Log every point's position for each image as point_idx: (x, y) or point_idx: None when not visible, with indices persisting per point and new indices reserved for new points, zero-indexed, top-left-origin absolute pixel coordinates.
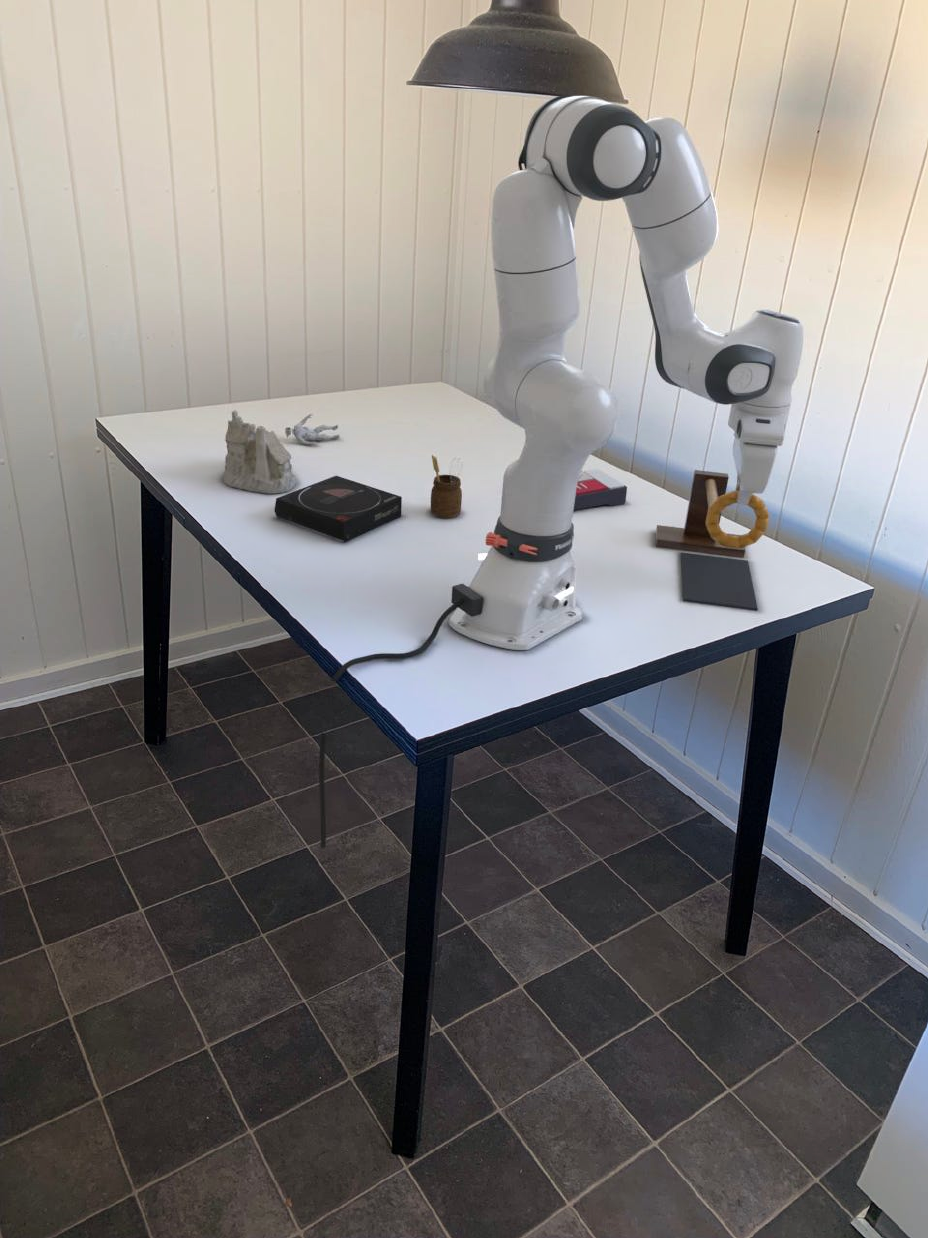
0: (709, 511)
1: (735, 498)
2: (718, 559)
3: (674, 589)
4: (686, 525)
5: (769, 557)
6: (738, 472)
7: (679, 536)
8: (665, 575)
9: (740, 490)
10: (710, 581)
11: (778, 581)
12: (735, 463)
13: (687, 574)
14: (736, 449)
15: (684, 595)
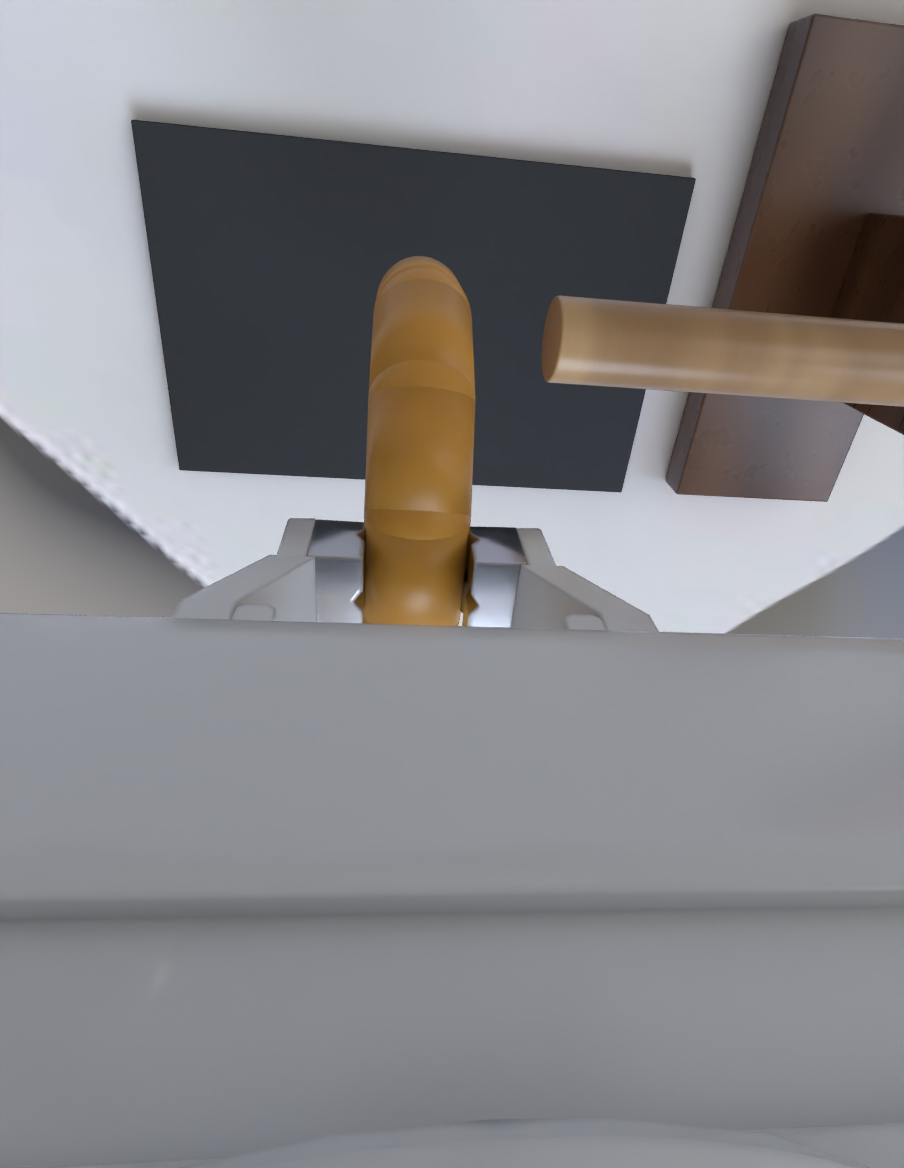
0: (393, 277)
1: (364, 512)
2: None
3: (258, 83)
4: (898, 221)
5: (671, 571)
6: (85, 656)
7: (840, 180)
8: (419, 45)
9: (231, 580)
10: None
11: None
12: (580, 646)
13: (430, 183)
14: (833, 748)
15: (173, 131)
